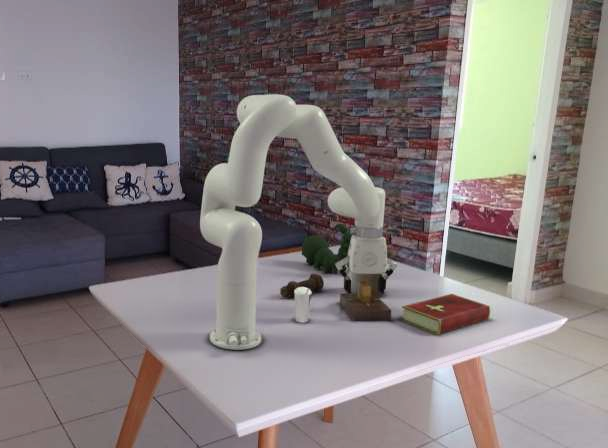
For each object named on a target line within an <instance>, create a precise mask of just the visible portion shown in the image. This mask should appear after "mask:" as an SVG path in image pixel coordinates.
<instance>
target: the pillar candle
mask: <svg viewBox="0 0 608 448" xmlns="http://www.w3.org/2000/svg"><path fill="white" fill-rule="evenodd" d="M379 277H380V274H353V275H352V277H351V293H358V282H359V281H365V282H366V283H367V284H368V285H369V286H370V287H371V293H374V294H375V295H376V296H377V297H378V298H381V297H383V295H384V293H381V292H380V291H378V279H379Z"/></svg>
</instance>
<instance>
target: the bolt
mask: <svg viewBox="0 0 608 448" xmlns="http://www.w3.org/2000/svg"><path fill="white" fill-rule="evenodd" d="M324 285H325V281H324V279H323V277H322V275H320V274H318V273H310V275H309V277H308V279H305V280H301V281H298V282H297V281H295V280H291V281H289V282H287V284H286V285H284V286H282V287H281V288H279V291H280V292H279V294H280V296H282V297H283V298H287V297H291V298H295V296H294V290H295V289H296V288H299V287H306V288H309V289H310V290H311V291H314V292H317V293H319V292H321V291H322V290H323V288H324Z"/></svg>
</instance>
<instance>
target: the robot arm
mask: <svg viewBox="0 0 608 448" xmlns="http://www.w3.org/2000/svg"><path fill="white" fill-rule="evenodd" d="M236 119H237V121H238V123H239V125H238V127H237V129H236V131H235V132H234V134H233V137H232V140H231V144H230V149H229V155H228V161H227V162H221V163H219V164H217V165H214V166H213V167H212V168H211V169H210V170H209V172H208V173H207V175H206V177H205V180H204V184H203V192H202V200H201V209H200V219H199V229H200V234H201V235H202V237H203V239H204V240H205V241H207V242H208V243H210V244H212V245H213V246H216V247H218V248H221V254H220V257H219V259H218V263H217V268H216V315H215V316H216V318H215V319H216V320H215V321H216V322H215V323H216V324H215V327H216V328H215V329H213V330H212V331H211V332H210V333H209V341H210V343H212V345H215V346H216V347H218V348H221V349H225V350H232V351H233V350H234V351H240V350H241V351H242V350H243V351H244V350H249V349H252V348H256V347H257V346H259V345H260V344H261V343H262V334H261V332H259V331H258V330H257V329H256V313H257V283H258V280H257V279H258V261H259V255H260V250H261V246H262V242H263V241H262V240H263V230H262V227H261V225H260V223H259V221H257V220H256V218H254V216H252V215H250V214H247V213H245V212H241V211H238V210H236V206H237V207H241V208H250V207H253V206H255V205H257V203H258V202H259V201H260V198H261V196H262V191H263V190H262V189H263V183H264V176H265V169H266V168H265V167H266V163H267V162H266V161H267V155H268V151H269V148H270V146H271V144H272V142H273V141H274V140H275V138H276V137H279V138H284V139H294V140H295V139H296V140H297V141H298V142H299V145H300V147H301V149H302V150H303V152H304V154H305V156H306V157H307V159H308V162H309V163H310V165H311V167H312V169H313V171H315V172H316V173H318V174H320V175H321V176H322V177H324V178H326V179H327V180H330V181H331V182H333V183H335V184H336V185H338V186H339V187H337V188H336V189H334V190H332V191H331V192H330V194H329V195H328V197H327V206H328V208H329V210H330V211H331V212H333V214H336V215H338V216H342V217H346V218H352V219H354V225H353V227H349V229H348V233H351V234H352V235H353V236H352V237H351V241H350V245H349V250H348V256H347V257H346V258H344V259H342V260H340V261H338V262H337V263H335V265H336V267H337V269H338V273H339V274H340V275H341V276H342V277H343V290H344V291H345V293H348V294H350V293H352V291H351V287H352V275H353V274H380V277H379V279H378V291H380V292H381V293H383V294H385V290H386V289H387V280H388V279H389V277H390V276H391V275H393V274H394V271H395V270H396V268H397V267H398V263H397V262H395V261H393V260H391V258H388V249H387V248H388V247H387V239H386V237H385V236H383V235H384V219H385V206H386V191H385V189H384V188H382V187H378V186H375V185H374V183H373V181H372V179H371V178H370V176H369V175H368V174H367V173H366V172H365V170H364V169H363V168H362V167H360V166H359V165H358V164H357V163H356V162H355V161H354V160H353V159H352V158H351V157H350V156H348V155H347V154H346V153H345V152H344V150H343V148H342V146H341V144H340V142H339V140H338V137H337V136H336V134H335V131H334V130H333V127H332V125H331V123H330V122H329V119H328V118H327V116H326V114H325V111H324V110H323V109H321V107H319V106H317V105H314V104H297V103H296V102H295V100H294V99H293V98H291V97H290V96H288V95H286V94H277V93H275V94H274V93H269V94H252V95H248V96H246V97H244V98H242V100H241V101H240V102H239V103H238V105H237V108H236ZM345 264H346V267H347V270H346V271H345V272H344V270H343V268H342V266H343V265H345ZM388 265H389V267H388Z"/></svg>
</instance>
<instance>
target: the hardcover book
mask: <svg viewBox="0 0 608 448" xmlns="http://www.w3.org/2000/svg"><path fill="white" fill-rule="evenodd" d="M401 308H402V309H403V315H402V318H400V321H402V322H404V323H407V324H410V325H412V326H415V327H417V328H420V329H422V330H424V331H428V332H430V333H432V334H434V335H437V336H438V335H442V334H445V333H448V332H452V331H455V330H458V329H462V328H465V327H468V326H471V325H475V324H478V323H481V322H484V321H487V320H489V319H490V316H491V306H490V305H489V304H485V303H482V302H479V301H476V300H473V299H469V298H466V297H464V296H460V295H457V294H454V293H449V294H445V295H441V296H436V297H433V298H428V299H424V300H421V301H417V302H413V303H410V304H405V305H401Z"/></svg>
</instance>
